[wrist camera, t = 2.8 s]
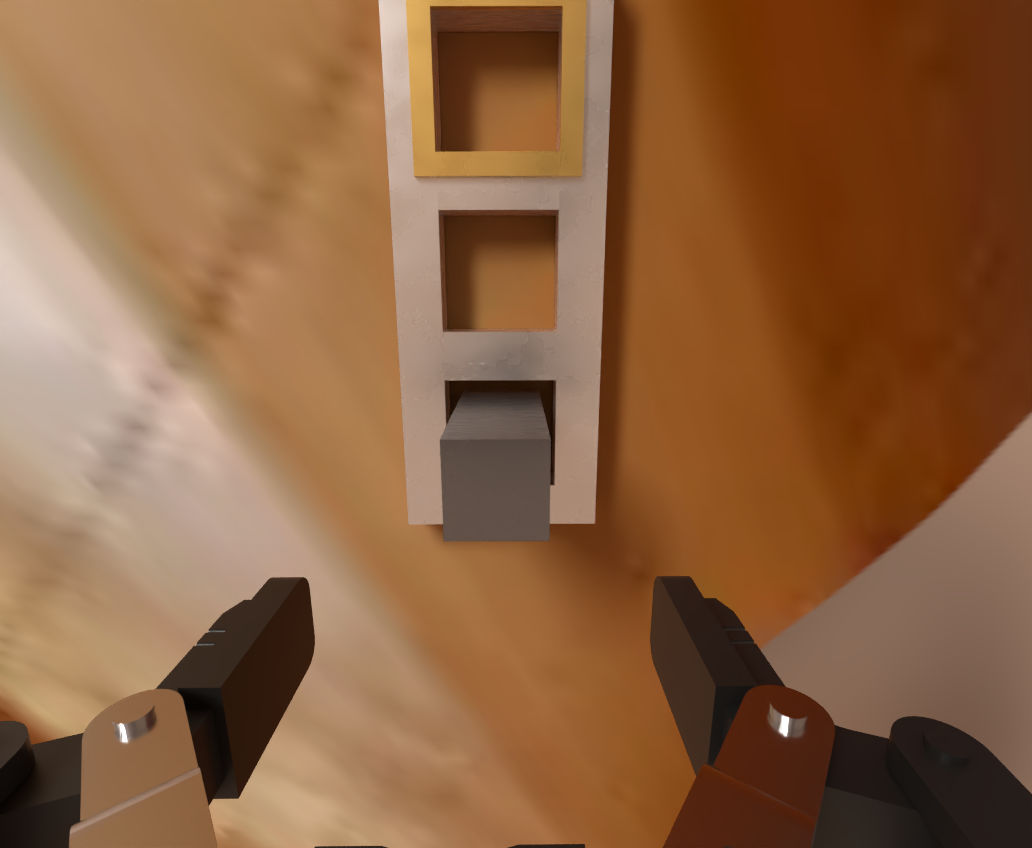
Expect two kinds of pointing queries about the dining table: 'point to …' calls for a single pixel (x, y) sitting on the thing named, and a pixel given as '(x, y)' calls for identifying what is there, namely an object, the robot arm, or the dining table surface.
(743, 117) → the dining table surface
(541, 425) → the peg
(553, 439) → the rail
